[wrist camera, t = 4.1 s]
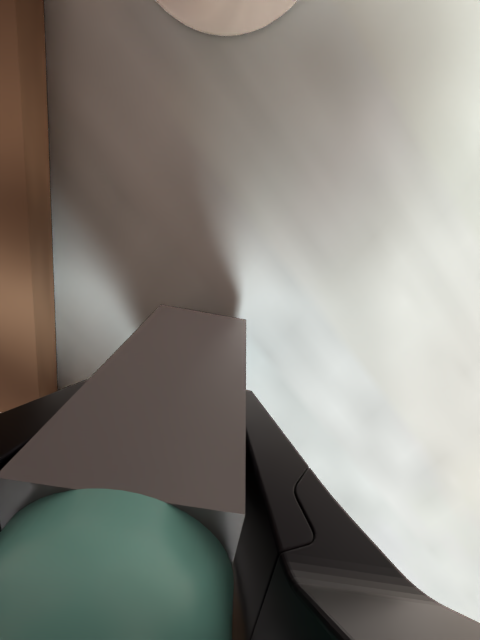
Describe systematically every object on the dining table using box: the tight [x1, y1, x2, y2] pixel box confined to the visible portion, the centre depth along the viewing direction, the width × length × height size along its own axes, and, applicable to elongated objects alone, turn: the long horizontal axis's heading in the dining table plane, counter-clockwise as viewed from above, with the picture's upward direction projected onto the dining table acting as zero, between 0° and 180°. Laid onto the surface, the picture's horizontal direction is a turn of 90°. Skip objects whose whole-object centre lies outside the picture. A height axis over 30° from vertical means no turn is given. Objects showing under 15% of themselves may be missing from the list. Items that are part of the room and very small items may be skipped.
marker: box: [0, 305, 246, 640], centre depth 7 cm, size 3×3×9 cm
